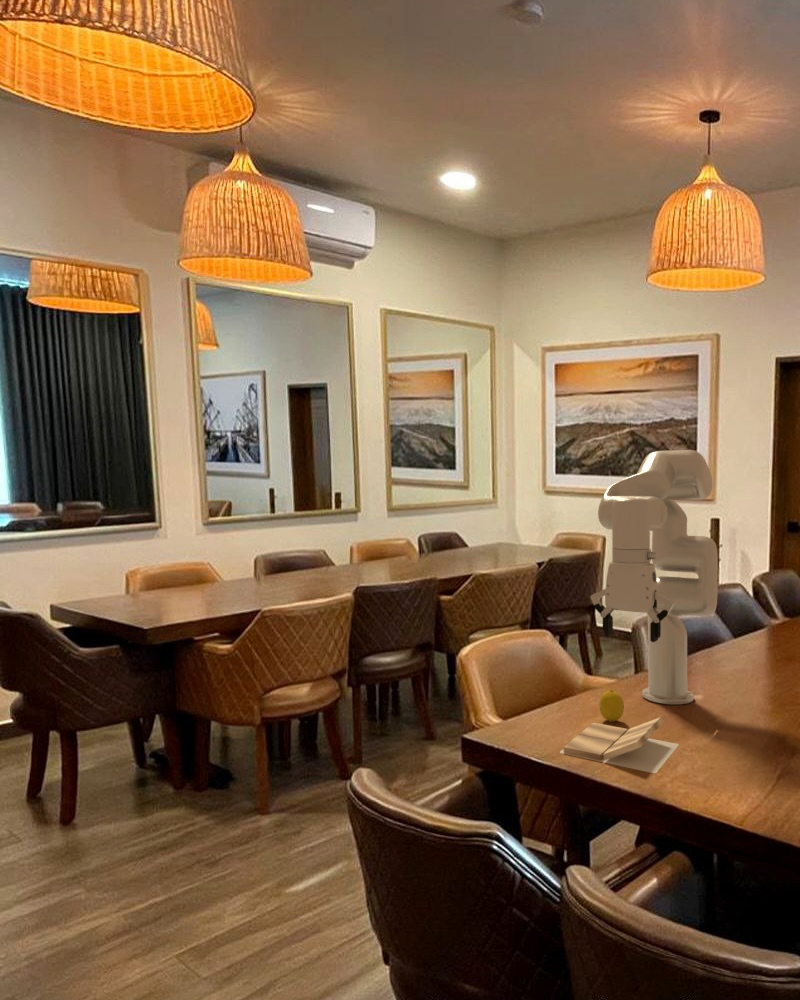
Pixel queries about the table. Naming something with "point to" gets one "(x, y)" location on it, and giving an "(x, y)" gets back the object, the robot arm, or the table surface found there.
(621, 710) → the lemon
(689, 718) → the table surface
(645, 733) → the plank near
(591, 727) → the row
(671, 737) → the table surface
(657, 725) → the plank far
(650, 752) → the underlay mat
